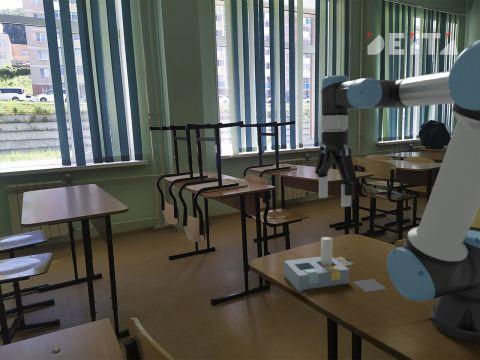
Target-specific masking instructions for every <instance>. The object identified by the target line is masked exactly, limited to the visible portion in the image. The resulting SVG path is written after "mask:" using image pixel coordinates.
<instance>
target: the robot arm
mask: <svg viewBox="0 0 480 360" xmlns="http://www.w3.org/2000/svg"><path fill="white" fill-rule="evenodd" d="M349 79H350V78H349V76H347V75H339V74H338V75H337V74H336V75H328V76H325V77H324V78H323V79H322V80H321V90H320V91H321V92H320V93H321V130H322V132H321V145H320V146H319V153H318V154H319V155H318V158H317V163H316V166H315V167H316V168H315V170H314V173H315V175H317V177H318V198H319V199H322V198H323V199H324V198H328V196H329V195H328V194H329V188H328V187H329V183H328V182H329V174H328V173H329V171H330V169H331V166H332V164H334V165H335V166H336V167H337V170H338V172H339V175H340V178H341V180H342V182H341V183H340V184H341V187H340V188H341V190H340V193H341V196H340V197H341V198H340V199H341V201H340V206H341V207H342V208H346V207H352V190H353V184H354V183H357V181H358V179H357V175H356V171H355V167H354V162H353V158H352V149H351V148H350V147H349V148H348V147H347V148H345V145H347V144H348V143H349V132H348V131H347V130H348V129H349V110H357V109H359V110H363V109H406V108H410V107H421V106H436V105H446V104H447V105H448V104H453V106H452V108H451V112H452V113H453V115H454V117H455V118H456V124H455V127H454V130H453V132H452V136H451V138H450V141H449V142H448V146H447V149H446V151H445V154H444V158H443V160H442V162H441V165H440V168H439V170H438V173H437V176H436V179H435V182H434V184H433V186H432V190H431V193H430V195H429V199H428V202H427V203H426V207H425V209H424V212H423V214H422V217H421V220H420V222H419V223H420V224H419V225H418V226H416V227H415V226H414V227H413V228H410V230H408V233H407V236H406V238H405V241H404V244H403V246H396V247H395V248H394V249H392V250H391V251H390V252H389V253H388V255H387V258H386V259H387V260H386V268H387V273H388V275H389V278H390V280H391V283H392V285H393V286H394V288H395V289H396V290H397V291H398V293H400V295H402V296H403V297H404V298H405V299H407V300H410V301H412V302H424V301H432V300H434V299H436V300H435V302H434V304H433V306H432V308H431V312H430V313H431V315H430V321H431V323H432V325H433V326H434V327H435V328H436V329H437V330H439V332H442V334H445V335H447V336H449V337H451V338H454V339H456V340H458V341H463V342H466V343H470V344H477V345H480V231H478V230H473V229H472V230H471V229H470V228H471V226H472V223H473V221H474V219H475V216H476V215H477V213H478V210H479V207H480V39H478V40H476V41H475V42H473V43H472V44H471V45H468V46H467V47H466V48H464V49H463V50H462V51H461V53H460V54H459V55H458V56H457V57H456V58H455V60H454V62H453V63H452V66H451V68H450V70H446V71H440V72H434V73H429V74H423V75H417V76H411V77H406V78H405V77H404V78H399V79H375V78H373V77H365V78H363V77H362V78H361V77H360V78H358V79H354V80H349Z"/></svg>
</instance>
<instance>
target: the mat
mask: <svg viewBox="0 0 480 360" xmlns="http://www.w3.org/2000/svg"><path fill="white" fill-rule="evenodd" d="M352 283H353V284H354V285H355V286H356V287H358V288H360V289H361V290H362V291H363V292H365V293H369V292H374V291H382V290H387V289H388V288H387V287H385V286H384V285H383V284H381V283H380V282H378V281H377V280H375V279H374V278H370V279H369V278H368V279H362V280H357V281H354V280H353V281H352Z"/></svg>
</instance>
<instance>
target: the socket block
mask: <svg viewBox="0 0 480 360" xmlns="http://www.w3.org/2000/svg"><path fill="white" fill-rule="evenodd" d="M334 258H335V257H334V256H332V266H329V267H322V266H321V255H320V256H314V257H305V258H304V257H303V258H297V259H290V260H289V259H288V260H284V261H283V264H284V265H283V267H284V268H283V275H284V277H285V278H286V279H287V280H288V282H289V283H290V284H291V285H292V286H293V287H294V288H295V289H296V291H298V293H303V292H304V291H306V290H311V289H318V288H319V289H320V288H324V287H325V288H326V287H331V286H338V285H346V284H350V269H349V268H348V266H344V265H343V264H341V263H340V262H339V261H337V260H336V259H334Z"/></svg>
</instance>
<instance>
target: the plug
mask: <svg viewBox="0 0 480 360" xmlns="http://www.w3.org/2000/svg"><path fill="white" fill-rule="evenodd" d="M320 256H321V266H322V267H329V266H332V257H333V237H330V236H329V237H328V236H323V237H321V239H320Z"/></svg>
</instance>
